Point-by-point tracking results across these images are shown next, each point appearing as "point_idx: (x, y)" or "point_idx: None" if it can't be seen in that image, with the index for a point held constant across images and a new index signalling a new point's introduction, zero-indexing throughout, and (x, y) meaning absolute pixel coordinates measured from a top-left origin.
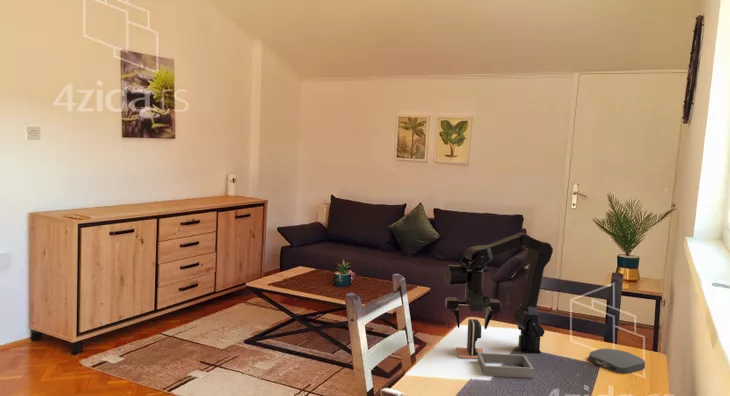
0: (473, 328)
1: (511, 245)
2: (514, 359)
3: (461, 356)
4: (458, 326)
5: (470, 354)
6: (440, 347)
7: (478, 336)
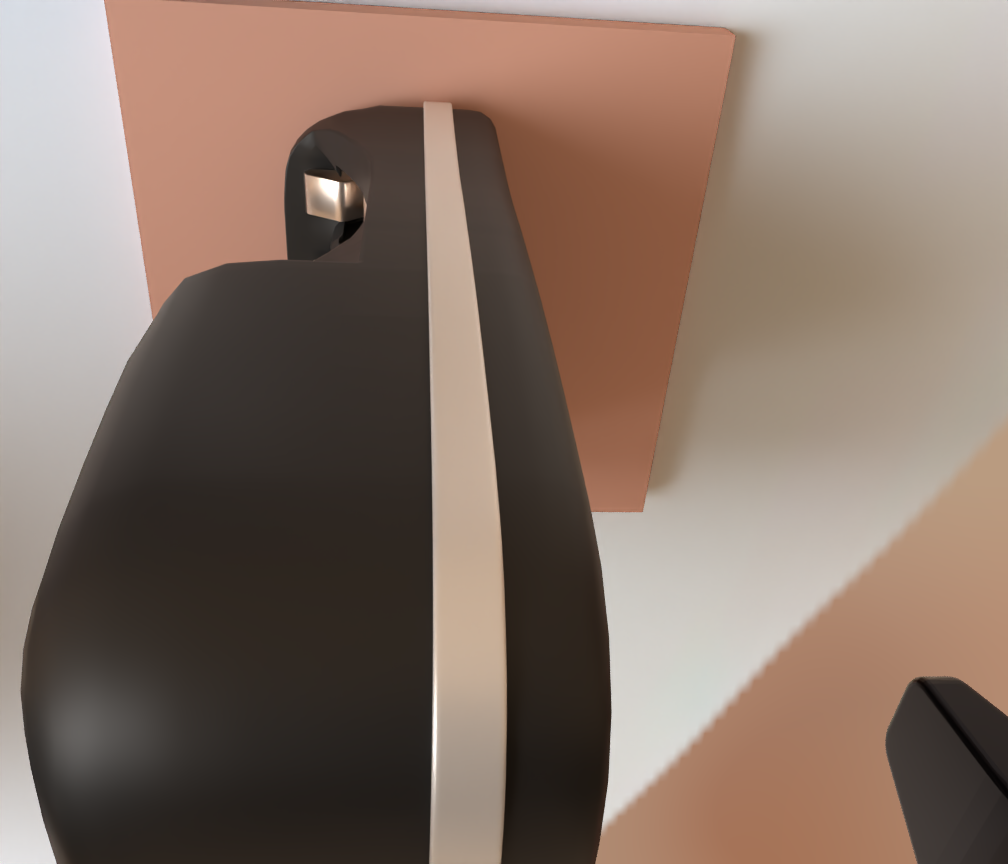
0: (473, 485)
1: None
2: None
3: (688, 62)
4: (985, 712)
5: (477, 114)
6: (880, 523)
7: (241, 293)
